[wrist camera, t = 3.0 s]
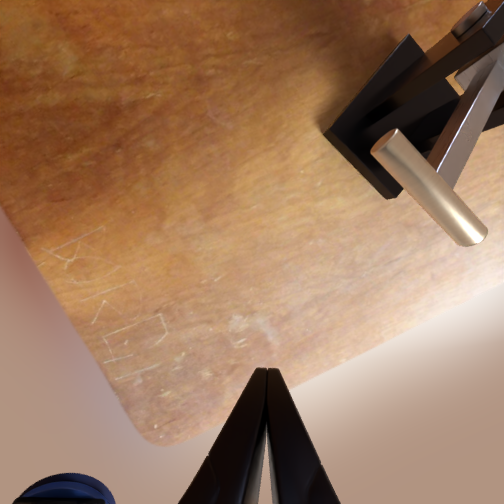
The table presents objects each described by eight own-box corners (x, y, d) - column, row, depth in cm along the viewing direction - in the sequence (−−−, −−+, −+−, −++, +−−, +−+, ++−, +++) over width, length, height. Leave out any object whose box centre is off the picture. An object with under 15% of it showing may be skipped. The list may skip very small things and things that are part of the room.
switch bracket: (386, 200, 22) (526, 176, 12) (322, 134, 20) (422, 48, 11) (456, 114, 22) (646, 24, 12) (397, 44, 21) (562, -121, 11)
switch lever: (439, 250, 12) (502, 243, 10) (354, 163, 11) (403, 132, 9) (509, 102, 15) (567, 71, 13) (449, 25, 14) (502, -24, 12)
